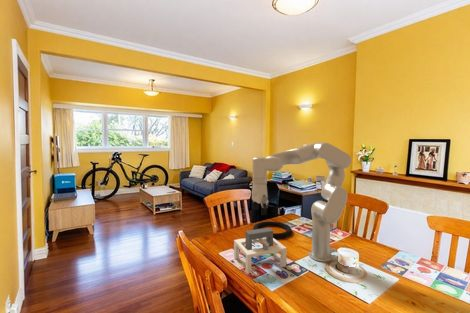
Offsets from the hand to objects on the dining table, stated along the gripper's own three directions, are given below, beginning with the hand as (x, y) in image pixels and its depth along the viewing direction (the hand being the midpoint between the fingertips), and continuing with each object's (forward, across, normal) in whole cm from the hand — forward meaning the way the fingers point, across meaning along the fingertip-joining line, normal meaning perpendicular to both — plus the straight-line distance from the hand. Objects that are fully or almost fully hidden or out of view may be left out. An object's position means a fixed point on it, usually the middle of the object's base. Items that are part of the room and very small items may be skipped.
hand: (259, 212), depth 132 cm
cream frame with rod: (+27, 0, 0) cm, 27 cm away
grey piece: (+22, 0, 0) cm, 22 cm away
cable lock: (+28, -35, +26) cm, 52 cm away
